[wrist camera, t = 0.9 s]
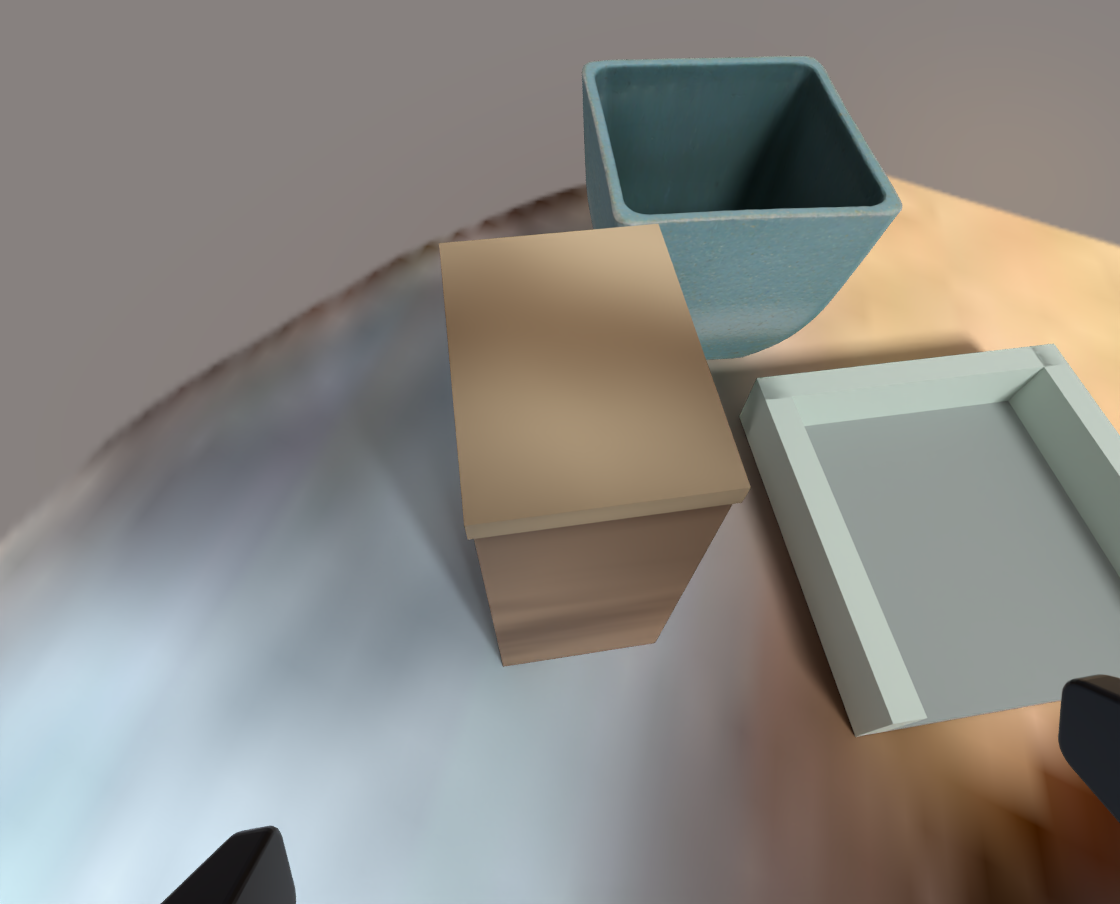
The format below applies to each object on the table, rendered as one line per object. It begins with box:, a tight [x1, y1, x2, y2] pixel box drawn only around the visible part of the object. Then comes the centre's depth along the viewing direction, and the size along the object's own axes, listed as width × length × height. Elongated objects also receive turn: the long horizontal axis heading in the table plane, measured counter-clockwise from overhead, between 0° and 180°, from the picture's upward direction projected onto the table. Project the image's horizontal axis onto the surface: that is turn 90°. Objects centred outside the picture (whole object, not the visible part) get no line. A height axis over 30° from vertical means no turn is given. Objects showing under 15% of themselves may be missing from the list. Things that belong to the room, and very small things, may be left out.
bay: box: [739, 344, 1120, 737], centre depth 22 cm, size 12×12×2 cm
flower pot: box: [582, 56, 902, 360], centre depth 25 cm, size 9×9×9 cm
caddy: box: [439, 224, 751, 667], centre depth 18 cm, size 7×5×11 cm
